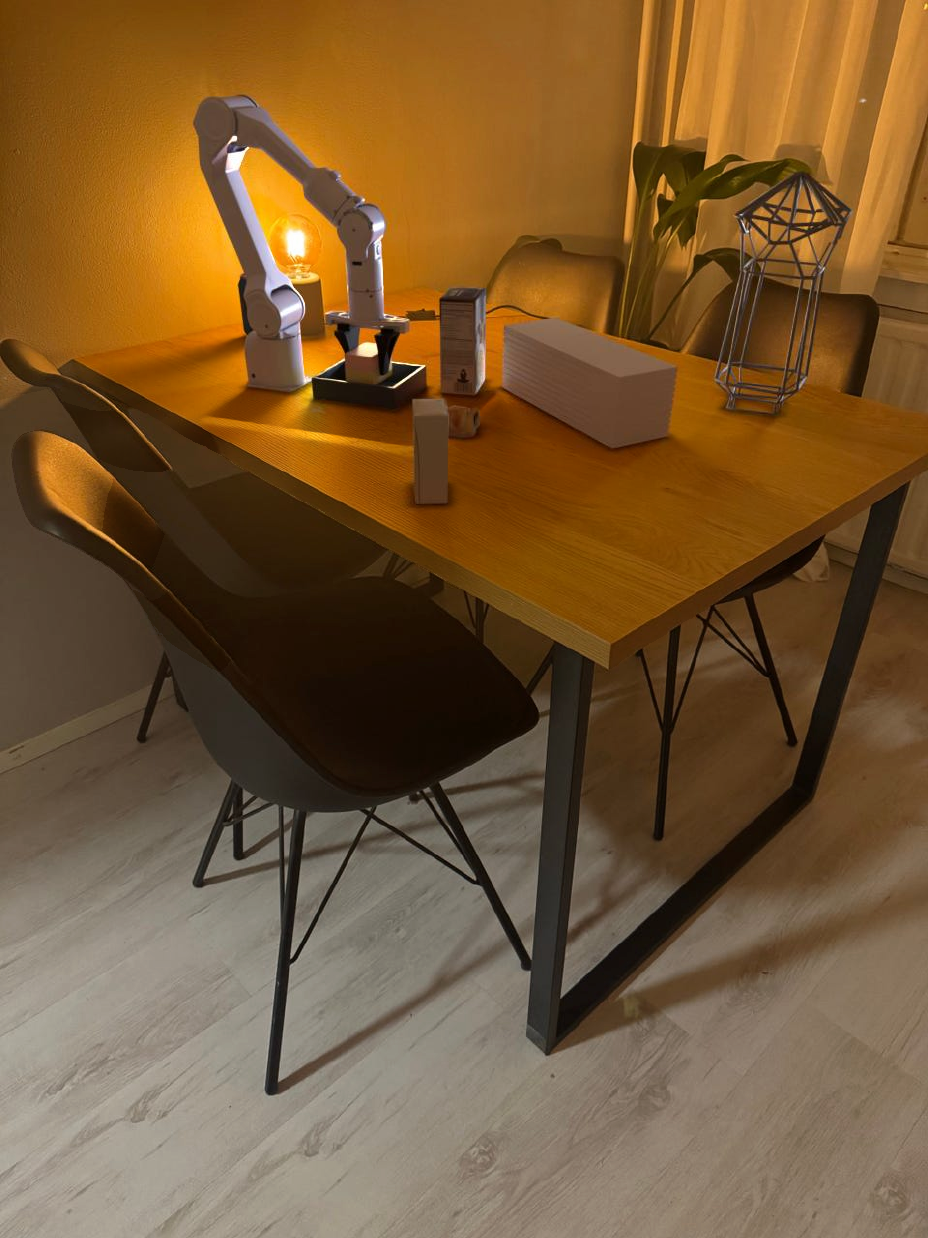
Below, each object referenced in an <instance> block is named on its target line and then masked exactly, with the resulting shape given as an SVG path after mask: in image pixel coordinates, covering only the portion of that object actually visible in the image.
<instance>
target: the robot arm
mask: <svg viewBox="0 0 928 1238" xmlns="http://www.w3.org/2000/svg"><path fill="white" fill-rule="evenodd" d="M192 125H193V128H194V130H195V132H196V135H197V137H198V139H197V140H198V155H199V156H198V158H199V166H200V170H201V172H202V173H201V174H202V175H203V178H204V180H205V182H206V184H207V188H208V190H209V192H210V194H211V197H212V200H213V202H214V204H215V207H216V209H217V211H218V214H219V216H220V218H221V221H222V223H223V227H224V228H225V230H226V233H227V235H228V238H229V240H230V243H231V245H232V248H233V251H234V252H235V255H236V257H237V259H238V262H239V264H240V267H241V269H242V273H244V274H245V277H246V279H247V283H246V287H245V291H244V299H245V302H246V305H247V317H248V321H249V324H250V326H251V327H252V329H253V330H254V331H252V332H250V333H249V334H248V335H246V338H245V340H244V345H243V348H244V359H245V366H246V367H245V368H246V373H247V375H246V376H247V382H246V384H245V385H246V387H247V388H259V389H265V390H273V391H274V390H275V391H280V392H281V391H282V392H287V393H294V392H296V391H297V390H299V389H301V388H303V387H304V386H306V385H308V384H309V383H312V379H311V378H312V377H313V376H308V375H305V367H304V357H303V346H302V335H301V323H300V322H301V321H302V320H303V319H304V317H305V313H306V305H305V301H304V299H303V297H302V295H301V294H300V293H299V292H298V291H297V290H296V288H294V286H293V284H292V281H291V279H290V277H288V276H287V275H286V274H285V273H283V272H282V271H281V270H279V268H278V266H277V264H276V261H275V259H274V256H273V253H272V251H271V249H270V246H269V243H268V241H267V238H266V235H265V233H264V231H263V228H262V225H261V223H260V221H259V218H258V216H257V213H256V210H255V208H254V206H253V203H252V200H251V198H250V194H249V193H248V190H247V187H246V185H245V183H244V180H243V177H242V175H241V173H240V170H239V169H240V166H241V164H242V163H241V162H242V160H243V158H244V155H245V153H246V151H248V149H257V150H261V151H262V152H264V153H265V155H267V156H268V157H269V158H270V159H271V160H273V161H274V162H275V163H276V164H277V165H278V166H280V167H281V168H282V169H283V170H284V171H286V172H287V173H288V174H289V175H290V176H291V177H293V178H294V179H295V180H296V181H297V182H298V183H299V184H300V185H302V192H303V197H304V199H305V200H306V201H307V202H308V203H309V204H310V205H311V206H312V207H314V209H315V210H316V211H317V212H318V213H320V214H321V215H322V216H323V217H324V218H325V219H326V220H327V221H328V222H329V223H330V224H331V225H332V226H333V227H334V228H336V233H337V237H338V240H339V242H341V244H342V246H343V248H344V252H345V253H344V254H345V269H346V285H347V301H348V302H347V304H348V311H347V310H345V311H344V310H343V311H342V310H340V311H339V310H329V311H326V312H325V313H324V319H325V320H324V321H325V326H330V327H331V326H336V329H335V330H333V334H334V337H335V338H336V340H337V341H338V343H339V345H340V347H341V349H342V350H343V353H344V355H345V354H346V353H347V352H349V351H351V350H353V349H354V348H356V347H358V346H359V345H360V333H361V329H368V330H377V331H379V332H377V333H374V335H373V337H374V341H375V343H376V345H377V350H378V357H379V371H380V375H382V376H384V375H386V374H387V373H389V365H390V360H391V356H393V353H394V350H395V347H396V344H397V342H398V340H399V338H400V336H401V334H402V335H406V334H407V333H409V332H410V330H411V327H410V326H411V321H410V320H411V319H409V318H403V317H399V316H396V315H395V316H394V315H391V314H386V313H385V304H384V303H385V301H384V300H385V299H384V279H383V278H384V277H383V276H384V275H383V256H382V241H381V240H382V238H384V236H385V233H386V229H387V222H386V218H385V216H384V213H382V211H381V210H380V208H379V207H378V205H376V204H374V203H371V202H365V198H364V197H363V196H362V195H361V194H358V195H357V194H356V193H355V192H354V191H353V190H352V189H351V188H350V187H349V186H348V185H347V184H346V183H345V182H343V180H342V179H341V178H342V174H341V173H340V172H339V171H338V170H337V169H334V170H333V169H332V170H331V169H330V167H326V166H325V167H317V166H316V165H315V164H314V163H313V162H312V161H311V160H310V159H309V157H307V155H306V154H304V152H303V151H302V150H301V149H300V148H299V147H298V146H297V145H296V144H295V143H294V142H293V141H292V139H291V138H290V137H289V136H288V135H287V134H286V133H285V132H284V131H283V130H282V129H281V128H280V127H279V125H277V124H276V122H275V121H274V120H273V118H272V116H271V115H270V113H269V111H267V110H266V109H265V108H264V107H262V106H260V105H259V104H258V102H257V101H256V100H255V99H254V98H253V97H251V96H250V95H248V94H244V93H243V94H241V93H240V94H236V95H231V96H230V95H229V96H214V95H212V96H208V97H204V98H203V99H202V101H201V102H200V103H199V105H198V108H197V110H196V113H195V116H194V118H193V120H192Z"/></svg>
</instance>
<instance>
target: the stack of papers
mask: <svg viewBox="0 0 928 1238" xmlns="http://www.w3.org/2000/svg"><path fill="white" fill-rule="evenodd" d="M502 332H503V333H502V335H503V338H502V340H503V341H502V343H503V344H502V348H503V349H502V367H501V369H502V373H501V375H502V377H501V388H502V389H504V390H506V391H508V392H509V393H511V394H513V395H515V396H516V397H518V398H520V399H522V400H524V401H526V402H527V403H529V404H531V405H533V406H535V407H536V408H538V409H539V410H542V411H544V412H545V413H547V414H549V415H551V416H552V417H555V418H556V419H558V420H559V421H561V422H563V423H565V424H567V425H569V426H571V427H572V428H574V429H576V430H578V431H579V432H581V433H583V434H585V435H586V436H589V438H592V439H593V440H596V441H597V442H599V443H601V444H603V445H604V446H606V447H608V448H610V449H617V448H621V447H626V446H631V445H635V444H639V443H644V442H649V441H654V440H657V439H658V440H659V439H663V438H666V437H669V435H670V431H669V430H670V427H671V421H672V411H673V405H674V398H675V391H676V384H677V377H678V374H677V373H678V370H679V369H678V368H679V366H677V365H674V364H672V363H670V362H667V361H665V360H662V359H659V358H657V357H655V356H653V355H650V354H647V353H644V352H643V351H640V350H637V349H635V348H632V347H630V346H627V345H625V344H623V343H620V342H618V341H615V340H613V339H610V338H607V337H605V336H602V335H600V334H598V333H595V332H593V331H591V330H588V329H586V328H583V327H580V326H578V325H575V324H573V323H572V322H571V323H570V322H569V321H565V320H563V319H560V318H559V317H551V318H544V319H538V320H537V319H536V320H531V321H522V322H517V323H509V324H504V325H503V331H502Z"/></svg>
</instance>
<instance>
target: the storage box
mask: <svg viewBox="0 0 928 1238" xmlns="http://www.w3.org/2000/svg"><path fill="white" fill-rule="evenodd" d="M311 377H312V378H311V379H312V381H311V388H312V390H311V391H312V398H313V399H314V400H320V401H329V402H335V403H343V404H350V405H358V406H365V407H371V408H379V409H386V410H393V411H396V410H397V409H399V407H401V406H402V405H404V404H405V403H406V402H408V401H409V400H411V399H413V397H414V396H415V395H418V393H420V392H421V391H422V390H424V389H425V388H426V387H427V386H428V385H427V383H428V382H427V365H422V364H415V363H406V362H398V361H392V375H391V376H389V377H388V378H386V379H385V380H383V381H382V382H380V383H379V384H377V385H372V384H365V383H357V382H349V381H346V368H345V357H344V358H343V359H341V360H339V361H338V362H336V363H334V364H332V365H330V366H329V367H327V368H326V369H324V370H322V371H320V372H319V373H317V374H315V375H314V376H311Z"/></svg>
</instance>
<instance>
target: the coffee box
mask: <svg viewBox="0 0 928 1238" xmlns="http://www.w3.org/2000/svg"><path fill="white" fill-rule="evenodd" d="M438 307H439V309H438V310H439V313H438V314H439V371H440V373H439V375H440V378H439V379H440V393H442V394H455V395H470V396H475V395H476V394H477V393H478V392H479V390H480V389H481V387H482V386H483V384H484V383H485V380H486V341H487V340H486V339H487V338H486V337H487V336H486V335H487V334H486V333H487V330H486V329H487V287H471V286H450V287H449V288H447V290H446V291H445V292H444V293H443V295H441V296H440V298H439V299H438Z"/></svg>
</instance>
